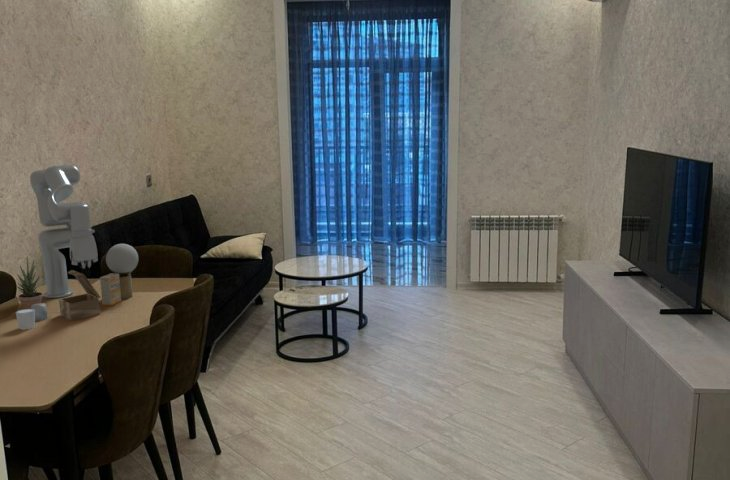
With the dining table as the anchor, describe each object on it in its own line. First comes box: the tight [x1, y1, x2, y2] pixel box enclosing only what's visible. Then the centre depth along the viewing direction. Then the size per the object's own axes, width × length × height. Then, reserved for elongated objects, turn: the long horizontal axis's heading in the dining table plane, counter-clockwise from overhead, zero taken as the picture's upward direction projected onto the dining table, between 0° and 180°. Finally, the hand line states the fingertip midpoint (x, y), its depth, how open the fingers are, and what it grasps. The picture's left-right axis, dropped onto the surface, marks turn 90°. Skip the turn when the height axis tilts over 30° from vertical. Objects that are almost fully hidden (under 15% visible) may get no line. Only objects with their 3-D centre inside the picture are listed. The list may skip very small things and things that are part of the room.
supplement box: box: [99, 272, 122, 307], centre depth 302 cm, size 8×5×13 cm, turn 168°
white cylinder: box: [15, 309, 36, 331], centre depth 269 cm, size 7×7×7 cm
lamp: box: [105, 243, 139, 301], centre depth 312 cm, size 15×14×25 cm
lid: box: [67, 269, 101, 299], centre depth 286 cm, size 12×13×2 cm
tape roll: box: [31, 302, 49, 322], centre depth 281 cm, size 6×6×6 cm
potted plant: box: [16, 257, 44, 310], centre depth 292 cm, size 10×10×25 cm
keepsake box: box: [58, 293, 101, 321], centre depth 286 cm, size 12×12×7 cm
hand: (86, 276), depth 283 cm, fingers closed
